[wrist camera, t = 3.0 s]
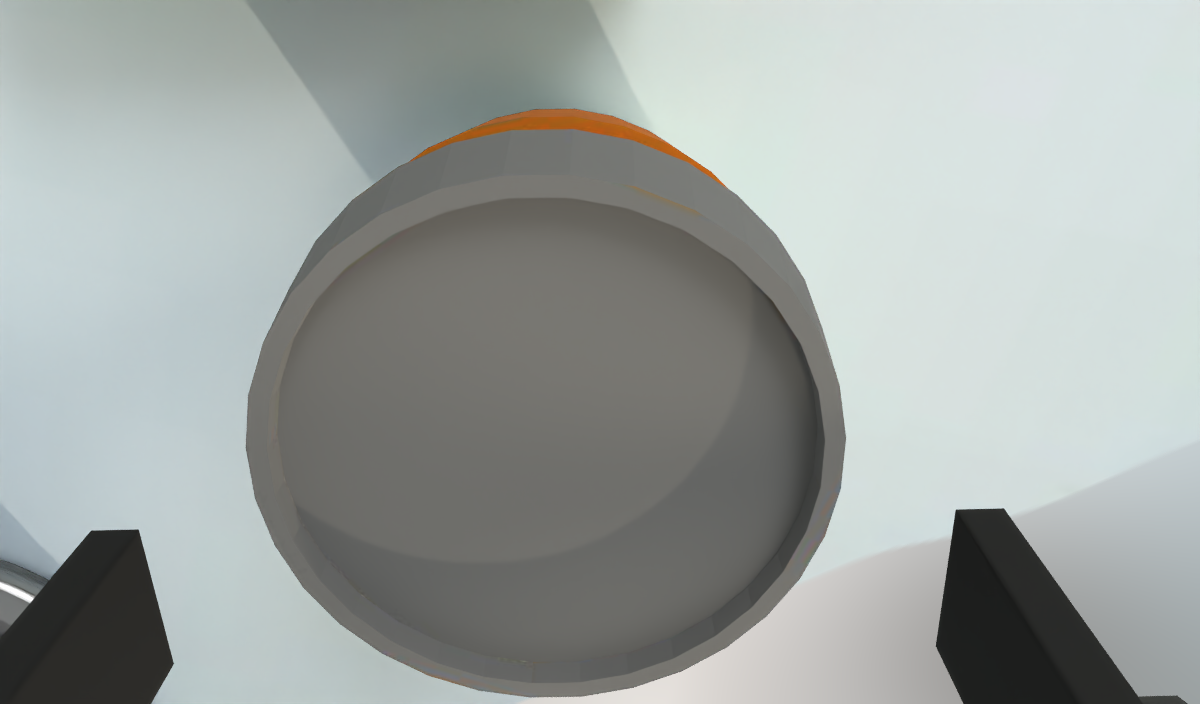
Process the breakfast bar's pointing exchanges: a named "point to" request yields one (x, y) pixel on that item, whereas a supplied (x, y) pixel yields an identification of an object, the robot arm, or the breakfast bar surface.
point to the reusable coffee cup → (547, 412)
